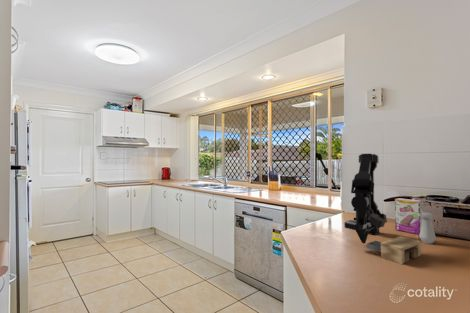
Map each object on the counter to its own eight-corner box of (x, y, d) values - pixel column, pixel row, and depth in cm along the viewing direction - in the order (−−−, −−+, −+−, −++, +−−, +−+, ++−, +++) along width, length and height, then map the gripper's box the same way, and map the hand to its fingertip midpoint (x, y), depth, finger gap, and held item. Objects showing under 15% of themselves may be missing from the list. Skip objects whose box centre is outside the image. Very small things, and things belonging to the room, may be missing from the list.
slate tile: (366, 249, 101) (366, 243, 101) (375, 246, 105) (375, 240, 105) (405, 260, 90) (405, 254, 90) (413, 256, 93) (413, 250, 94)
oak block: (381, 257, 91) (380, 242, 91) (400, 249, 99) (400, 236, 99) (401, 264, 85) (401, 248, 85) (420, 255, 93) (420, 240, 93)
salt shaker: (439, 244, 105) (438, 214, 105) (423, 244, 106) (423, 214, 107) (431, 240, 111) (430, 211, 111) (416, 239, 112) (416, 211, 112)
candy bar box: (395, 230, 128) (394, 198, 129) (399, 228, 131) (398, 198, 132) (420, 235, 119) (419, 201, 119) (424, 233, 122) (423, 200, 122)
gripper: (370, 212, 93) (371, 253, 93) (393, 206, 103) (394, 244, 103) (343, 207, 102) (344, 245, 102) (367, 203, 113) (368, 237, 112)
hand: (363, 243), depth 105 cm, fingers closed
